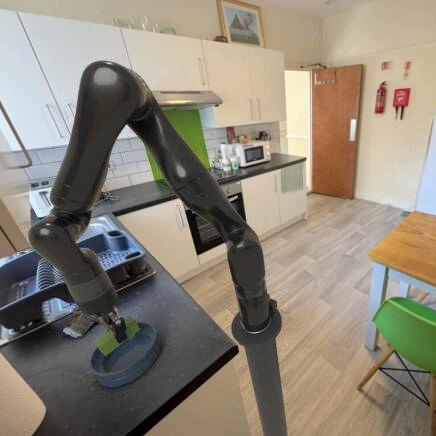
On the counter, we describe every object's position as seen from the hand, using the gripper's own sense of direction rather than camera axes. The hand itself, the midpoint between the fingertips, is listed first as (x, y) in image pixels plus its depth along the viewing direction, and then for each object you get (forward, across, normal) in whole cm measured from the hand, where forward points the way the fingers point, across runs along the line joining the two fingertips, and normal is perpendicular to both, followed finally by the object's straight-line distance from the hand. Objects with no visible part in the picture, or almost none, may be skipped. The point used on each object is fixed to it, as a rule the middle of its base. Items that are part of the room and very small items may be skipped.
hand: (119, 337), depth 65 cm
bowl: (+9, 0, 0) cm, 9 cm away
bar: (+1, 0, 0) cm, 1 cm away
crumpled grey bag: (+9, +27, +3) cm, 29 cm away
